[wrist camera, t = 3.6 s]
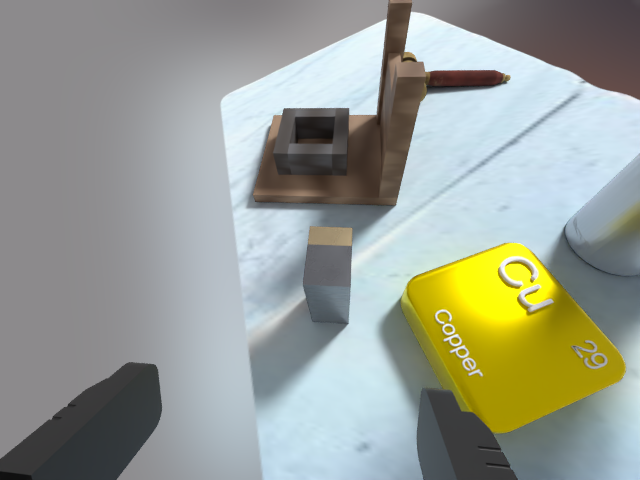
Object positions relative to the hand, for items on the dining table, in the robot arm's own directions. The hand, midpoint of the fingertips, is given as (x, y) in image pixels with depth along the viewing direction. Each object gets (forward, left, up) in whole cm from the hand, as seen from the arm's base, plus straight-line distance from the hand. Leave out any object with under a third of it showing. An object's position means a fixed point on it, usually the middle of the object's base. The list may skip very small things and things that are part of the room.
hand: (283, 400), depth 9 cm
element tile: (-17, -10, -24) cm, 31 cm away
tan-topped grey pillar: (0, -13, -23) cm, 26 cm away
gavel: (-20, -56, -24) cm, 64 cm away
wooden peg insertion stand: (+2, -36, -23) cm, 43 cm away
